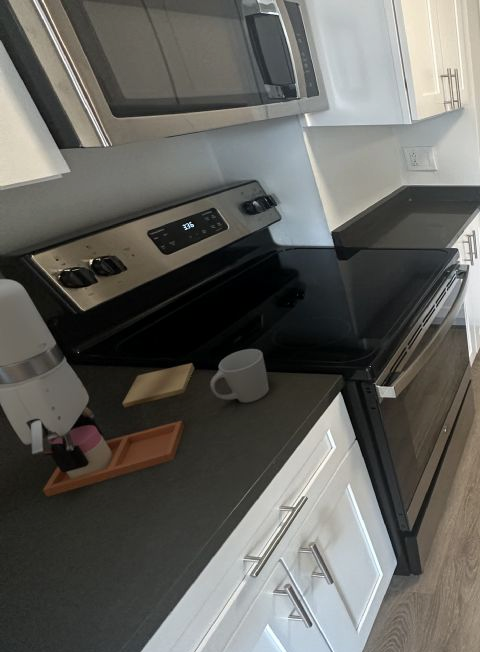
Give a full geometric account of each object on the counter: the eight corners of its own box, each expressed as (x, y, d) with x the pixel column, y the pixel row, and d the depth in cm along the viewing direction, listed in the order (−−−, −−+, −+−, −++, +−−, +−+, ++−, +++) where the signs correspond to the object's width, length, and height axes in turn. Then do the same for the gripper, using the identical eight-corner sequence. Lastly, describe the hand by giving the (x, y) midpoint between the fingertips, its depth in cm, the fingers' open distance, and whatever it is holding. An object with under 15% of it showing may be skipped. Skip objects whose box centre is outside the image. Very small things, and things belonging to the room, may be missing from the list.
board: (125, 409, 85) (121, 403, 84) (140, 381, 93) (137, 375, 92) (185, 394, 88) (182, 388, 88) (194, 368, 96) (192, 362, 96)
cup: (281, 390, 88) (269, 356, 85) (230, 419, 81) (215, 383, 77) (262, 377, 92) (251, 344, 89) (212, 404, 85) (197, 369, 81)
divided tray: (48, 498, 66) (42, 490, 66) (72, 459, 73) (67, 451, 73) (174, 461, 72) (170, 453, 71) (185, 428, 79) (181, 420, 79)
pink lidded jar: (63, 485, 68) (42, 455, 65) (78, 460, 73) (59, 431, 70) (107, 472, 70) (89, 443, 67) (119, 448, 75) (102, 420, 72)
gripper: (23, 340, 68) (77, 427, 76) (-49, 407, 54) (27, 505, 62) (83, 329, 71) (129, 413, 78) (30, 389, 56) (92, 485, 64)
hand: (84, 453), depth 70 cm, fingers closed on pink lidded jar, 5 cm apart
